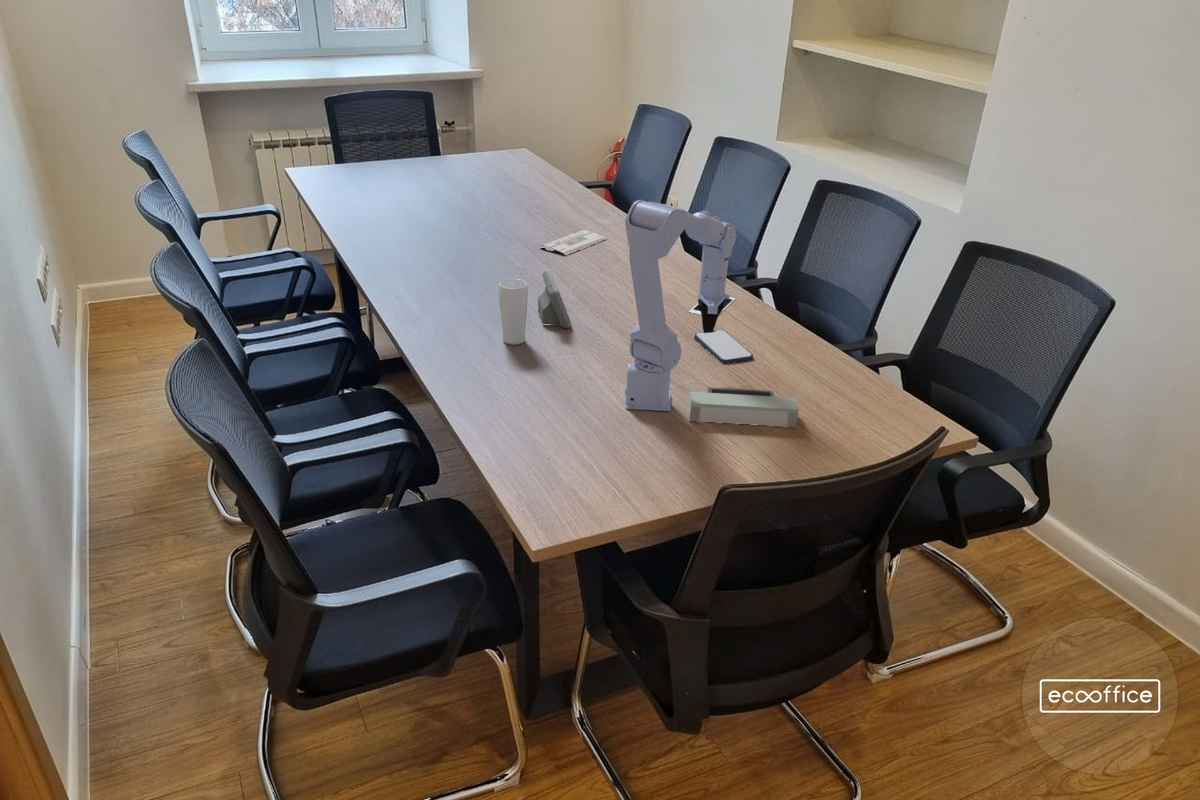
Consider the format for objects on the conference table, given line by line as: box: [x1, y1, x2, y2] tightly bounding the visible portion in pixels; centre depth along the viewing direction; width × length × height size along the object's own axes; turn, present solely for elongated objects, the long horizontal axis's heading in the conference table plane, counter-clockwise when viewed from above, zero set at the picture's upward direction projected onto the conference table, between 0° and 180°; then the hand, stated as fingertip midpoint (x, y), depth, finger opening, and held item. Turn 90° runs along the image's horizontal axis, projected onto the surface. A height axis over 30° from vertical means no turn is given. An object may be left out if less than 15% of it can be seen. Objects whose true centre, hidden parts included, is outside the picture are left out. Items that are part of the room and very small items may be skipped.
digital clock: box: [537, 270, 572, 329], centre depth 224 cm, size 16×9×11 cm, turn 0°
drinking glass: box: [498, 278, 529, 346], centre depth 210 cm, size 7×7×15 cm
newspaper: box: [541, 229, 608, 255], centre depth 280 cm, size 23×12×2 cm, turn 143°
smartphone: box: [694, 329, 754, 364], centre depth 214 cm, size 9×2×16 cm
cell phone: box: [688, 296, 736, 316], centre depth 238 cm, size 8×16×1 cm, turn 153°
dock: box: [688, 391, 800, 428], centre depth 183 cm, size 22×6×4 cm, turn 86°
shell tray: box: [706, 386, 775, 397], centre depth 187 cm, size 14×8×3 cm, turn 87°
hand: (707, 331), depth 198 cm, fingers closed
